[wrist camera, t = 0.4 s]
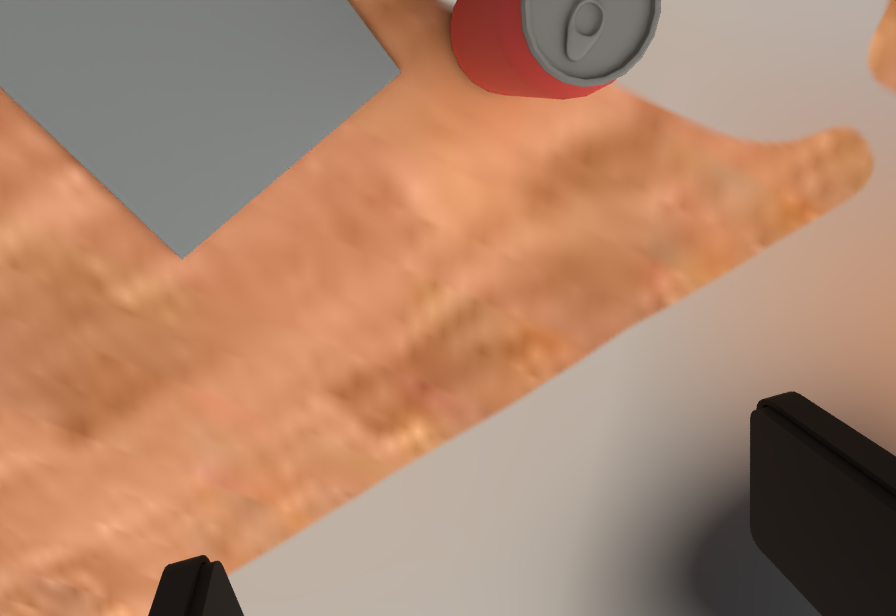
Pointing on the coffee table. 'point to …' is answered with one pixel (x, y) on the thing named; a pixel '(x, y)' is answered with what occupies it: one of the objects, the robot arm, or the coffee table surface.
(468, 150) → the coffee table surface
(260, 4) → the slate mat
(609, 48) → the beer can
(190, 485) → the coffee table surface
